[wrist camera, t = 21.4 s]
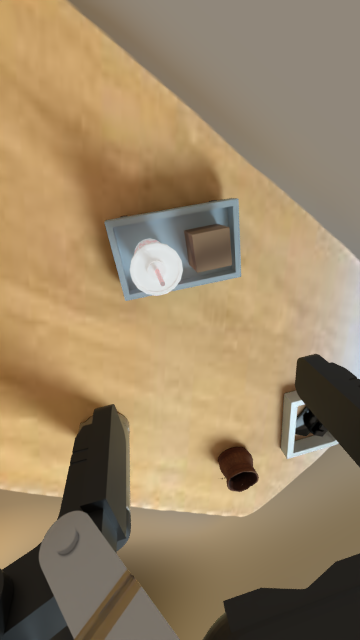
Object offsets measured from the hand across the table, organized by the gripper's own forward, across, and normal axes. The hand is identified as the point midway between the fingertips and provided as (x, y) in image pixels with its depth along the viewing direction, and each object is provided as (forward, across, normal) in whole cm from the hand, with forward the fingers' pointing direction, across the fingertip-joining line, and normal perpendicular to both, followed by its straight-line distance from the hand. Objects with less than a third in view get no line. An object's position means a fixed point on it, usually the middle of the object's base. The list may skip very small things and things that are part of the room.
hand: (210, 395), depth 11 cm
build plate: (+32, -32, +48) cm, 66 cm away
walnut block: (+30, -8, 0) cm, 31 cm away
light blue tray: (+32, -4, 0) cm, 32 cm away
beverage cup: (+30, 0, 0) cm, 30 cm away
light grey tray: (+32, -32, +48) cm, 66 cm away
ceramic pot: (+33, -11, +56) cm, 66 cm away
